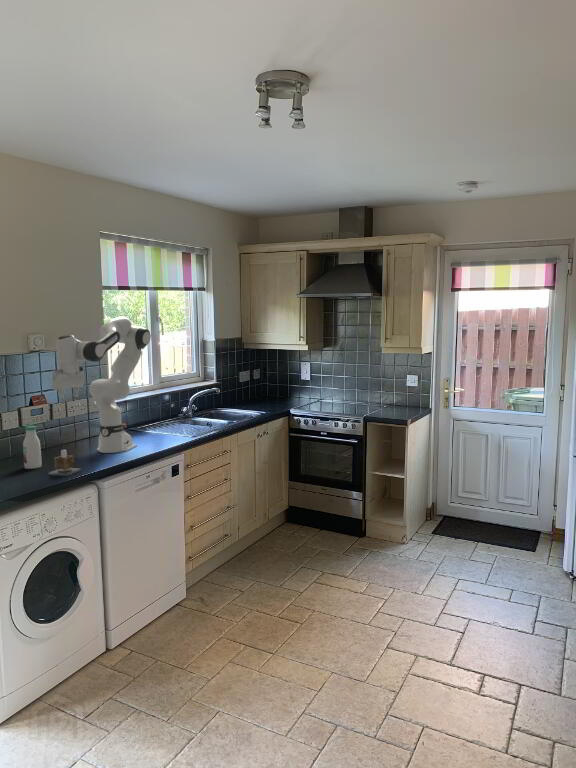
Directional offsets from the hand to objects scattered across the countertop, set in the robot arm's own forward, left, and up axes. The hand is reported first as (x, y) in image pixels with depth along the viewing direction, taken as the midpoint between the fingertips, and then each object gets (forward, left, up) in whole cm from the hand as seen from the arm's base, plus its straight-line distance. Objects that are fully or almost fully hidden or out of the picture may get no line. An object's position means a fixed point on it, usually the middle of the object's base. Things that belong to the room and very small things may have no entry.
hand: (69, 397), depth 277 cm
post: (+15, +7, -33) cm, 37 cm away
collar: (+15, +7, -31) cm, 35 cm away
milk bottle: (+9, -16, -33) cm, 38 cm away
